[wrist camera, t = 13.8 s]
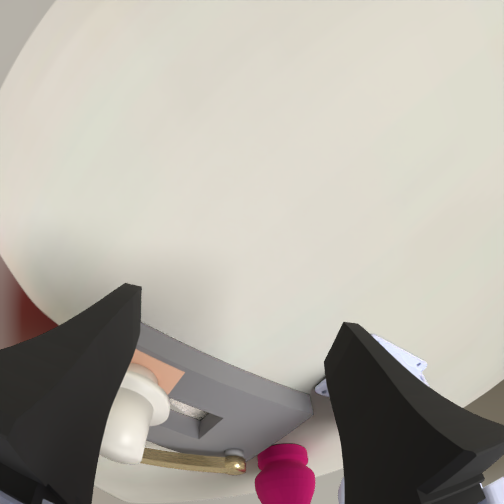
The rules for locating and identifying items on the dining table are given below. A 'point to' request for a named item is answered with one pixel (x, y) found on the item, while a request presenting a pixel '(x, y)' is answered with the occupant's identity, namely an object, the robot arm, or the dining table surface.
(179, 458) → the bar
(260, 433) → the socket block
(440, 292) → the dining table surface
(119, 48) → the dining table surface
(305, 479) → the pepper mill
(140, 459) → the plug
